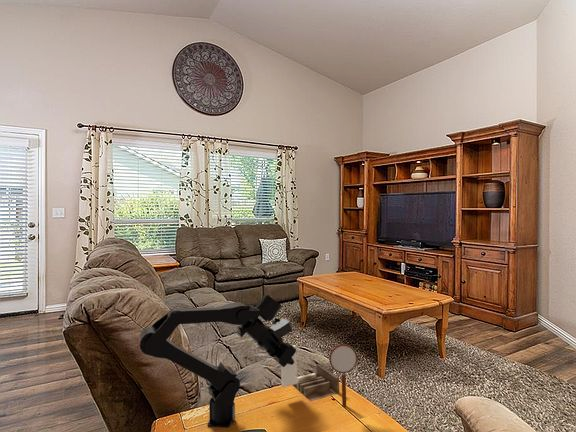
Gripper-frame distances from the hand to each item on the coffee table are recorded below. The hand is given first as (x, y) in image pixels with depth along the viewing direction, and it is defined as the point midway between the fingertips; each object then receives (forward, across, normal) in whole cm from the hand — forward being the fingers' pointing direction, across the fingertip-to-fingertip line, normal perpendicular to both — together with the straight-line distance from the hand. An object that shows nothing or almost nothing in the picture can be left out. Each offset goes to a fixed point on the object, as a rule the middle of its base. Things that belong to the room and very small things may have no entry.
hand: (292, 362), depth 110 cm
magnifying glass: (+17, -12, +1) cm, 21 cm away
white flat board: (+4, 0, +6) cm, 7 cm away
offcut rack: (+15, +1, +2) cm, 15 cm away
